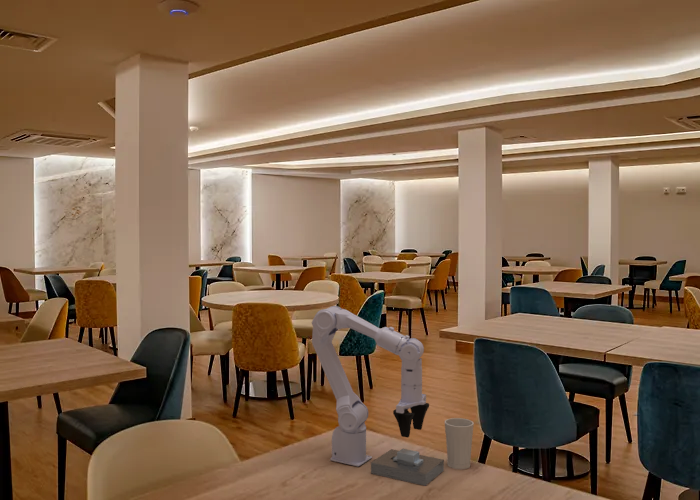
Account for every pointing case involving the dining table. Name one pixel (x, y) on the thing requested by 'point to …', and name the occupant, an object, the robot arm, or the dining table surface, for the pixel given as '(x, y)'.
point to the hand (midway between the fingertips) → (411, 432)
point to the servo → (408, 457)
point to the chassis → (407, 468)
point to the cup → (458, 442)
